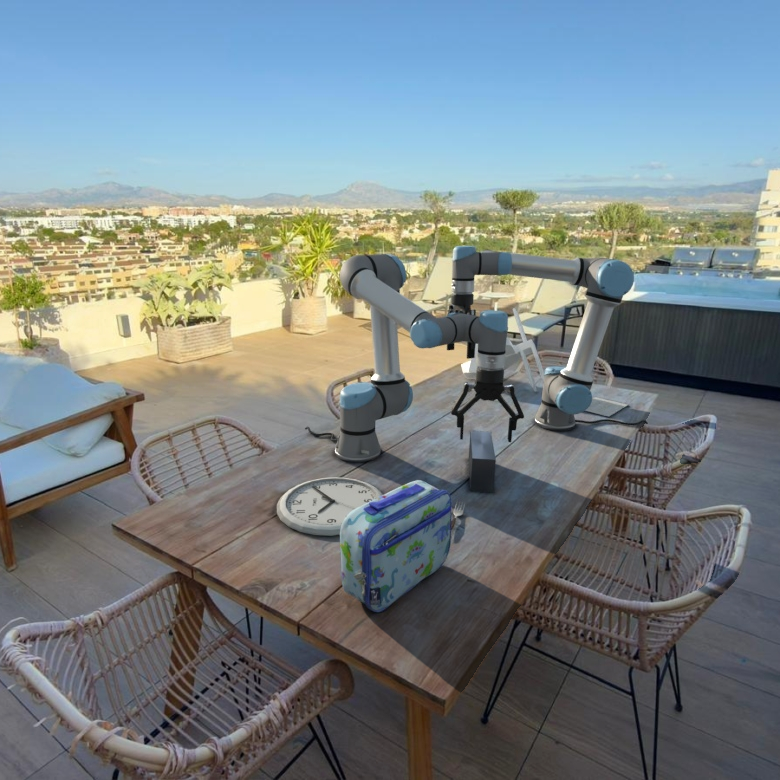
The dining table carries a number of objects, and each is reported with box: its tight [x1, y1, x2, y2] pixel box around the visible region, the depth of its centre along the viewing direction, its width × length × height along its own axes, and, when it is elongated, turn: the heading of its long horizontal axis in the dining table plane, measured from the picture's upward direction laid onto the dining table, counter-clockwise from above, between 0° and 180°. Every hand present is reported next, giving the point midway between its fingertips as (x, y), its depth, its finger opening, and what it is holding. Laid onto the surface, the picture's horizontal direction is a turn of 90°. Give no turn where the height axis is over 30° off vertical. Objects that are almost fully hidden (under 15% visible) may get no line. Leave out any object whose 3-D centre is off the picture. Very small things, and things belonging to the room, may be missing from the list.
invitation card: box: [584, 396, 629, 418], centre depth 226 cm, size 21×1×15 cm
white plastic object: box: [460, 307, 545, 392], centre depth 256 cm, size 37×45×31 cm
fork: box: [451, 500, 466, 531], centre depth 135 cm, size 3×16×2 cm, turn 160°
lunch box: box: [339, 479, 452, 613], centre depth 109 cm, size 26×11×21 cm, turn 134°
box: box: [467, 429, 497, 494], centre depth 160 cm, size 22×7×10 cm, turn 173°
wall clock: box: [276, 476, 385, 537], centre depth 142 cm, size 30×2×30 cm
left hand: (485, 439), depth 150 cm, fingers open, 13 cm apart
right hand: (460, 353), depth 184 cm, fingers open, 13 cm apart
